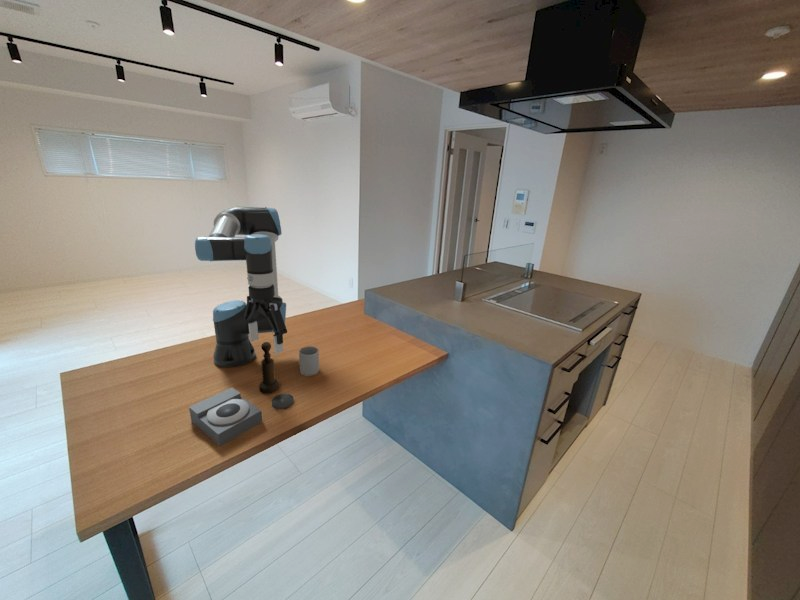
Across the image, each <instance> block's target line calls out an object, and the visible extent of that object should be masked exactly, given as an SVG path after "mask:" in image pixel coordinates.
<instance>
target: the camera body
mask: <svg viewBox="0 0 800 600" xmlns="http://www.w3.org/2000/svg"><path fill="white" fill-rule="evenodd" d="M188 408H189V409H188V410H189V414H190V421H191V423H192V424H194V425H195V426H196V427H197V428H198V429H200V431H201V432H203V433H204V434H205V435H206V436H208V438H210V439H211V440H212V441H213V442H215V444H217V446H219V447H221V446H223V445H225V444H226V443H228V442H229V441H232V440H233V439H235V438H236V437H238V436H240V435H242V434H243V433H245V432H247V431H248V430H249V431H250V429H253V427H256V426H257V425H259V424H261V423H262V422H263V413H262V410H261V409H260V408H259V407H257V406H255V405H254V404H253V403H251V402H250V401H249V400H247V399H245V397H242V396H241V392H239V391H238V390H236V389H235V388H234V387H230V388H228V389H225V390H223V391H221V392H219V393H217V394H214V395H211V396H210V397H208V398H206V399H203V400H201V401H199V402H196V403H195V404H192V405H190V406H189V407H188Z"/></svg>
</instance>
